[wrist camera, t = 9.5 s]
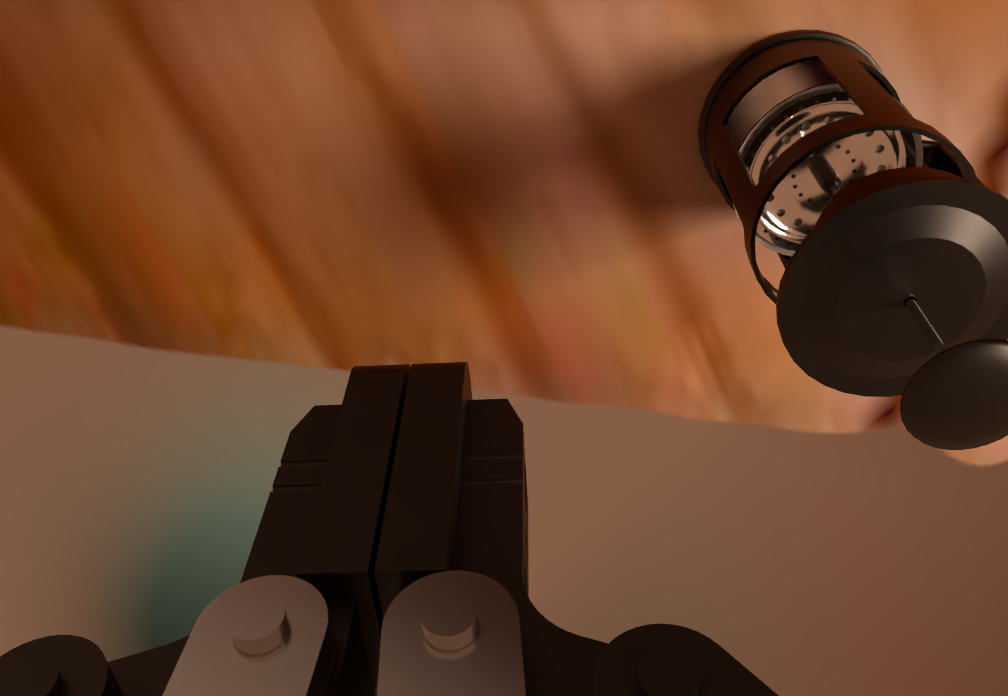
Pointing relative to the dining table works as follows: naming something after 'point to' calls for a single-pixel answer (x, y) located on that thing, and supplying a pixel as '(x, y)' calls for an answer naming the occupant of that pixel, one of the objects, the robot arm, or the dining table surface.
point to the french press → (870, 239)
